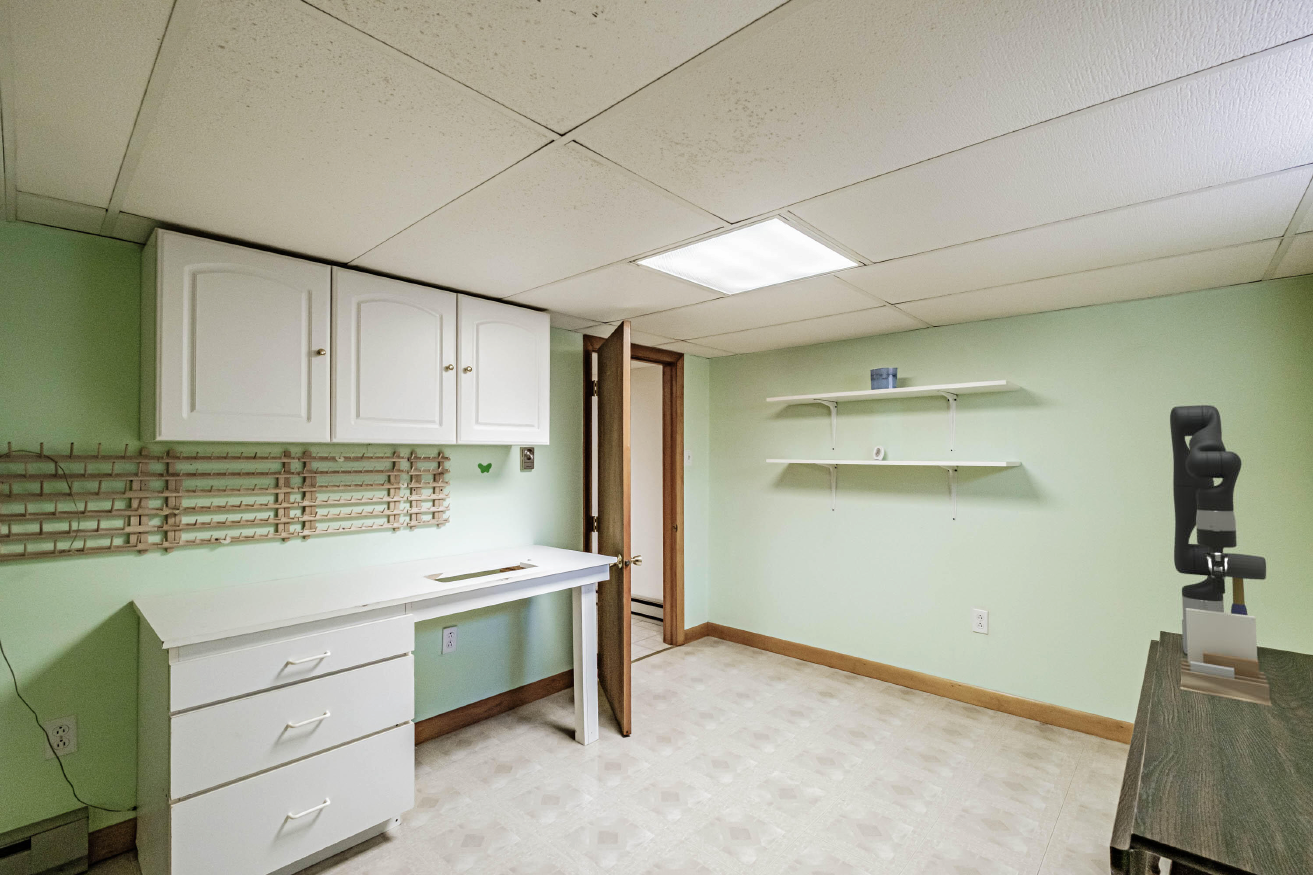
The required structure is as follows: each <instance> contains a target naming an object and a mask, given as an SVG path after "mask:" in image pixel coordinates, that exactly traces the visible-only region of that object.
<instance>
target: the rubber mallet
mask: <svg viewBox="0 0 1313 875" xmlns="http://www.w3.org/2000/svg"><path fill="white" fill-rule="evenodd" d="M1224 553H1225V554H1227V555H1228V562H1227V571H1226V572H1225V574H1226V578H1227V577H1228V578H1231V579H1232V583H1231V584H1232V604H1231V609H1230V613H1231V614H1239V615H1247V616H1249V615H1248V609H1247V606H1246V603H1245V601H1246V600H1245V589H1244V588H1245V587H1244V586H1245V585H1244V580H1245V579H1246V580H1260V581H1264V580H1266V578H1267V562H1266V558H1265V557H1264V556H1257V555H1251V554H1243V553H1242V554H1241V553H1230V552H1224Z"/></svg>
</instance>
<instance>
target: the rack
mask: <svg viewBox="0 0 1313 875" xmlns="http://www.w3.org/2000/svg"><path fill="white" fill-rule="evenodd" d="M1180 667H1181V668H1180V669H1181V670H1180V689H1181V690H1184V691H1190V692H1195V693H1196V692H1197V693H1200V694H1206V695H1211V696H1217V697H1221V698H1227V699H1232V700H1239V701H1242V702H1243V701H1244V702H1248V703H1252V704H1253V703H1254V704H1257V705H1258V704H1259V705H1263V706H1270V707H1272V703H1271V700H1270V697H1271V696H1270V685H1269V684H1268V680H1267V677H1266V675H1265V671H1259V679H1255V678H1249V677H1243V676H1237V675H1234V678H1235V679H1231V678H1225V677H1220V676H1214V675H1208V674H1202V673H1197V672H1191V669H1190V664H1189V663H1188V659H1187V658H1181V665H1180Z"/></svg>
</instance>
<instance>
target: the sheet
mask: <svg viewBox="0 0 1313 875" xmlns="http://www.w3.org/2000/svg"><path fill="white" fill-rule="evenodd" d="M1256 623H1257V622H1256V616H1255V615H1248V616H1247V615H1239V614H1231V612H1230V613H1229V612H1224V613H1223V612H1214V611H1206V610H1198V609H1190V608H1186V624H1187V649H1188V654H1187V660H1188V663H1189V664H1190V661H1193V662H1199V663H1203V652H1208V653H1215V654H1221V655H1227V656H1234V657H1240V658H1247V659H1253V660H1258V644H1257V642H1258V641H1257V624H1256Z"/></svg>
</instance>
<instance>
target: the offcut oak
mask: <svg viewBox="0 0 1313 875" xmlns="http://www.w3.org/2000/svg"><path fill="white" fill-rule="evenodd" d="M1203 663H1205V664H1211V665H1217V666H1223V667H1229V668H1234V675H1237V676H1243V677H1249V678H1255V679H1259V672H1260V666H1259V665H1260V664H1259V663H1260V662H1259V660H1258V659H1257V660H1253V659H1247V658H1240V657H1234V656H1227V655H1221V654H1215V653H1208V652H1203Z"/></svg>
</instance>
